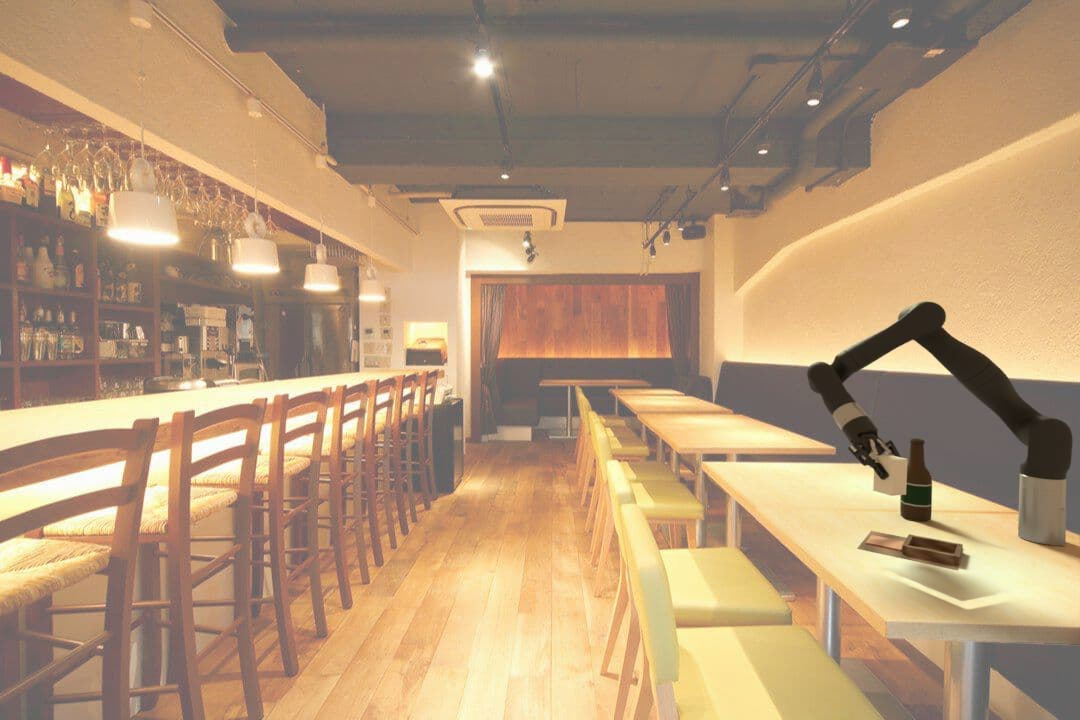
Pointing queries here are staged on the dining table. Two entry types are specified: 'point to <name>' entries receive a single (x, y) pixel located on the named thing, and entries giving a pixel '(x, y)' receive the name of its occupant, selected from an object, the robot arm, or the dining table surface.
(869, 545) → the puzzle board
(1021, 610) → the dining table surface
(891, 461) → the cream block
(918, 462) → the beer bottle
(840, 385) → the robot arm
